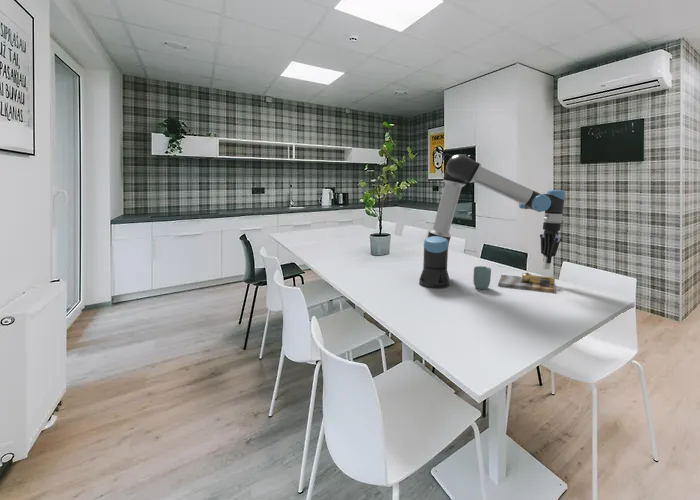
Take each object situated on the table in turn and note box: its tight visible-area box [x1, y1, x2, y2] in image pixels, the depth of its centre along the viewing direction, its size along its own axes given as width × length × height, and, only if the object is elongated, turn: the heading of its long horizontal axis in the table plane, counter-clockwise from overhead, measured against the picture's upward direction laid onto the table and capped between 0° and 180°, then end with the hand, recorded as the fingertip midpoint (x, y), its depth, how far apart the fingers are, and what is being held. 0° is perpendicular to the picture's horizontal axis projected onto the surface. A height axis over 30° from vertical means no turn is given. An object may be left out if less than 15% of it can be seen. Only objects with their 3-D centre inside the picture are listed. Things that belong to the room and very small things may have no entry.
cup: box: [473, 265, 492, 290], centre depth 168 cm, size 8×8×10 cm
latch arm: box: [521, 272, 556, 286], centre depth 170 cm, size 14×4×4 cm, turn 63°
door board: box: [497, 274, 556, 294], centre depth 173 cm, size 24×18×5 cm
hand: (546, 269), depth 174 cm, fingers closed
